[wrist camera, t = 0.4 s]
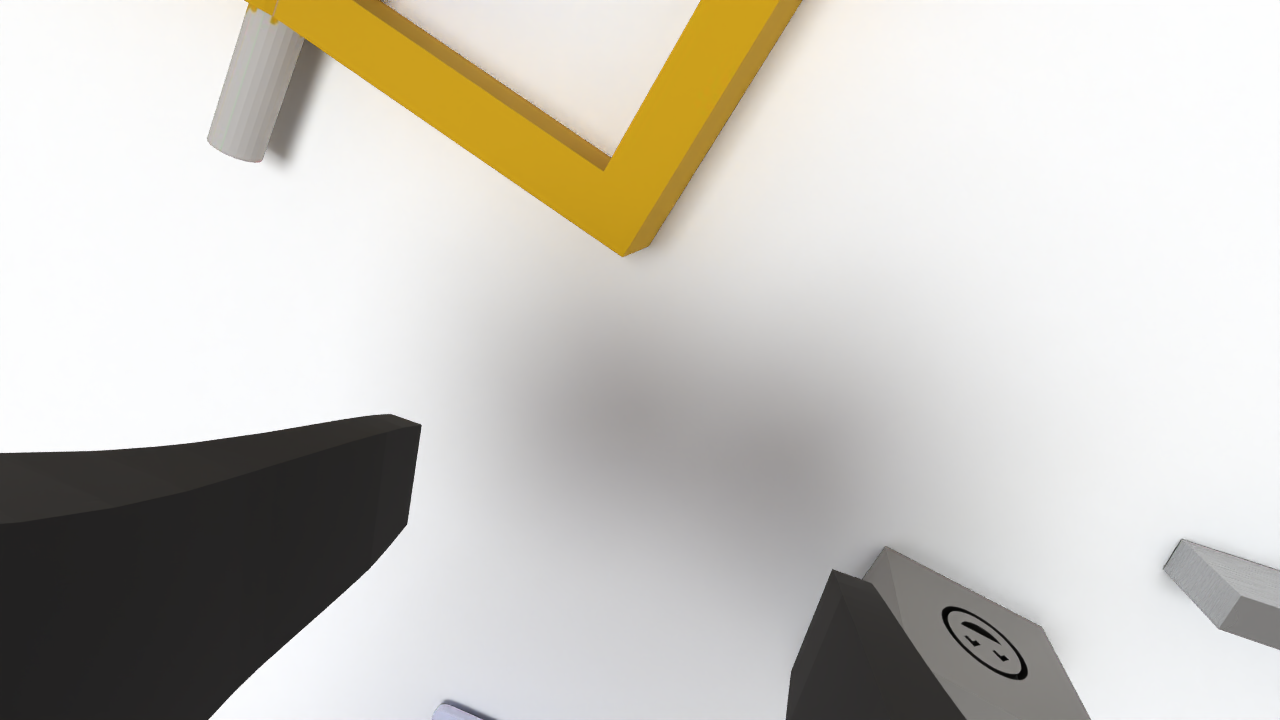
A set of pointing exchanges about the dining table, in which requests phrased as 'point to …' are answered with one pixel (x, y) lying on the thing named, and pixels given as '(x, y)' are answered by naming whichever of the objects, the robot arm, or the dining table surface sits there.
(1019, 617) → the dice cube
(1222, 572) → the bar
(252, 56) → the multicolour toy assembly
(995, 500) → the dining table surface
